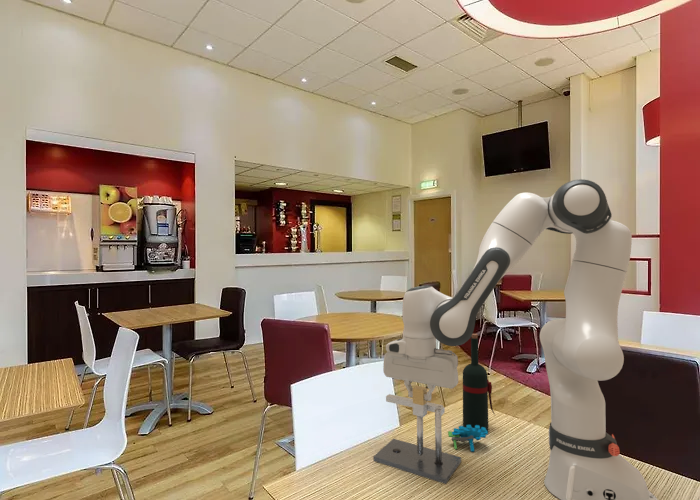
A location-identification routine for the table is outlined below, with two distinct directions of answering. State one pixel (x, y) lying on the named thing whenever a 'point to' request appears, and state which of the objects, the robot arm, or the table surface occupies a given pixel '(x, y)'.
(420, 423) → the leg
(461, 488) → the table surface
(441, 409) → the divider frame
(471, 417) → the wine bottle
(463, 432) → the gear
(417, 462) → the bolt plate
